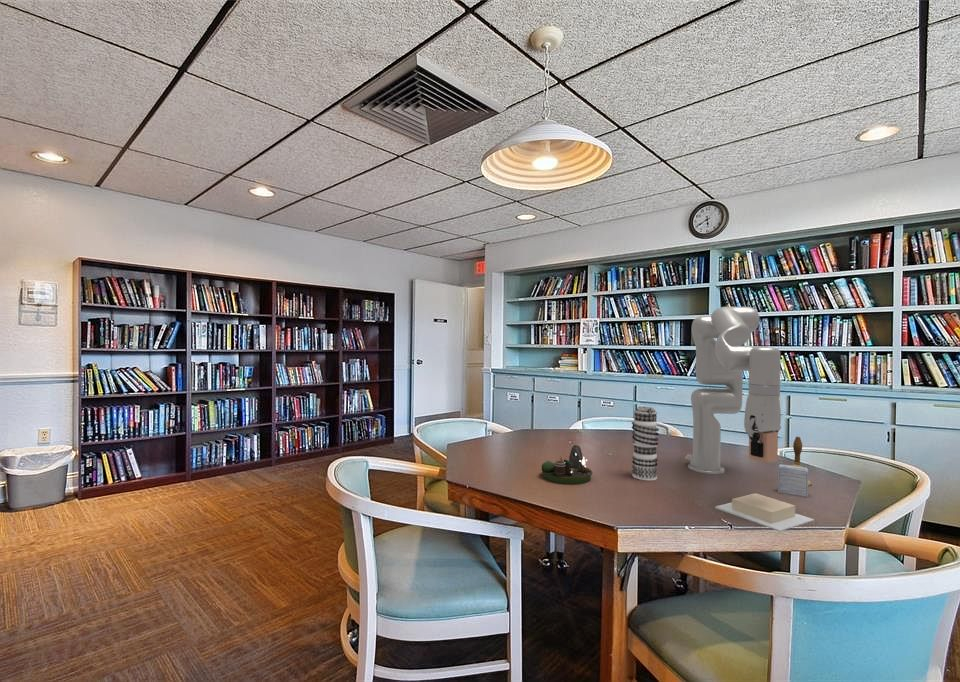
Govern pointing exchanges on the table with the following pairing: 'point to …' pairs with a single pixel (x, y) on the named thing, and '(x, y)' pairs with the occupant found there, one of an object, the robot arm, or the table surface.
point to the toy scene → (568, 469)
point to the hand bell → (798, 453)
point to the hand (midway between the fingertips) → (763, 454)
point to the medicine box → (793, 480)
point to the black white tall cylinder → (645, 444)
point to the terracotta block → (767, 447)
